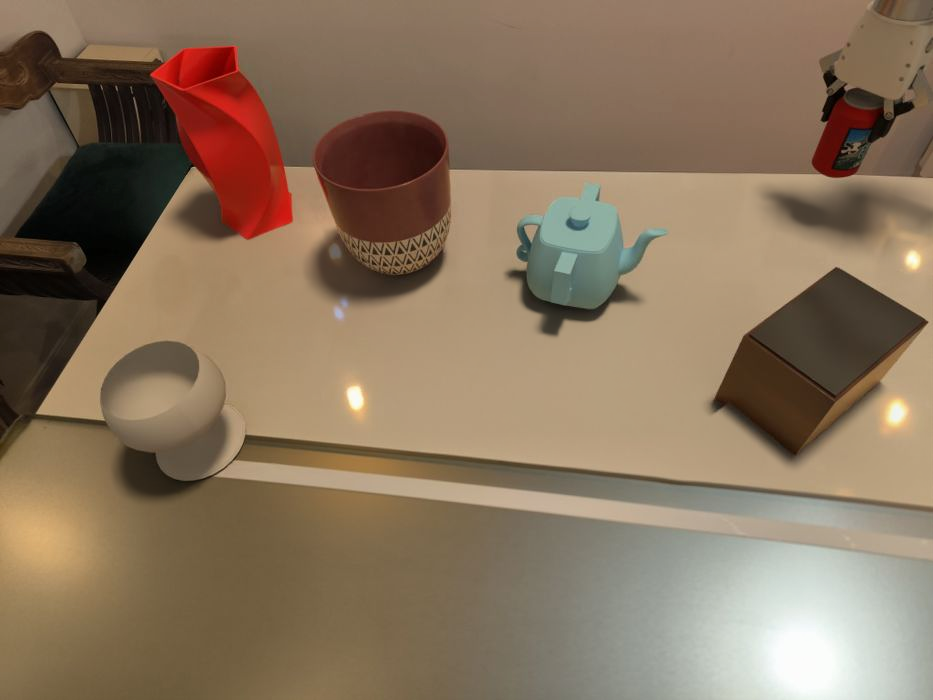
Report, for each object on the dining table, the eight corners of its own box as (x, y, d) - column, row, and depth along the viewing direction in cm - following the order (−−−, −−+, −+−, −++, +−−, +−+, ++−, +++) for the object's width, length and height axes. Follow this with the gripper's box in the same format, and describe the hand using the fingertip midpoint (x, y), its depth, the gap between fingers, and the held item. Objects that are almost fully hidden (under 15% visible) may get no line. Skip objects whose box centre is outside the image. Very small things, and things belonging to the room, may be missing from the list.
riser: (797, 334, 88) (837, 264, 77) (875, 387, 82) (931, 319, 71) (713, 398, 82) (744, 333, 71) (790, 461, 76) (837, 400, 65)
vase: (310, 195, 116) (262, 47, 94) (279, 245, 107) (218, 96, 85) (239, 187, 119) (176, 42, 97) (203, 236, 110) (125, 90, 88)
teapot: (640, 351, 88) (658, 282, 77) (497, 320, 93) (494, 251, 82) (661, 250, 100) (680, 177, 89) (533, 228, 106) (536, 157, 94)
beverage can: (842, 187, 93) (877, 115, 83) (800, 169, 96) (829, 98, 87) (865, 167, 95) (901, 95, 86) (823, 151, 99) (854, 79, 89)
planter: (326, 287, 100) (287, 178, 83) (373, 212, 111) (347, 103, 94) (436, 310, 95) (419, 200, 79) (474, 229, 107) (466, 118, 90)
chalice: (273, 438, 83) (232, 375, 71) (181, 509, 77) (121, 453, 65) (219, 382, 89) (174, 315, 78) (132, 443, 84) (69, 381, 72)
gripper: (998, 11, 73) (923, 142, 87) (862, -28, 82) (814, 97, 96) (963, 32, 70) (892, 164, 84) (828, -10, 80) (784, 115, 94)
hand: (851, 127), depth 90 cm, fingers closed on beverage can, 6 cm apart
